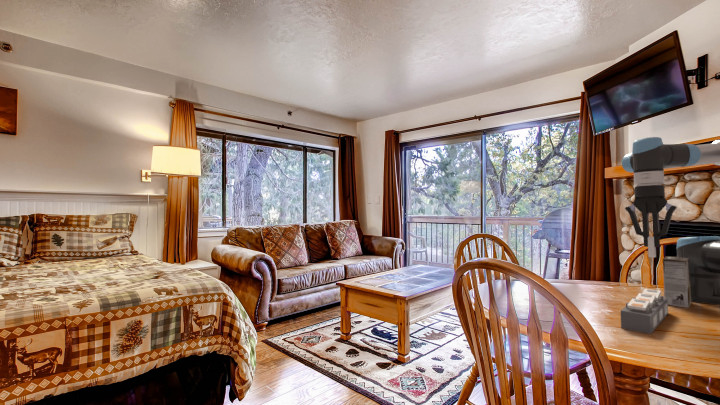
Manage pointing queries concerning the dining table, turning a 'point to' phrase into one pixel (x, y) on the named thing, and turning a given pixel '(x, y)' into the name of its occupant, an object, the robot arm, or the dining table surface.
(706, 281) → the robot arm
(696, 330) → the dining table surface
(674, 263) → the coffee box
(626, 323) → the power strip
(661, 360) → the dining table surface
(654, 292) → the rocker back
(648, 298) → the rocker middle
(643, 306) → the rocker front
